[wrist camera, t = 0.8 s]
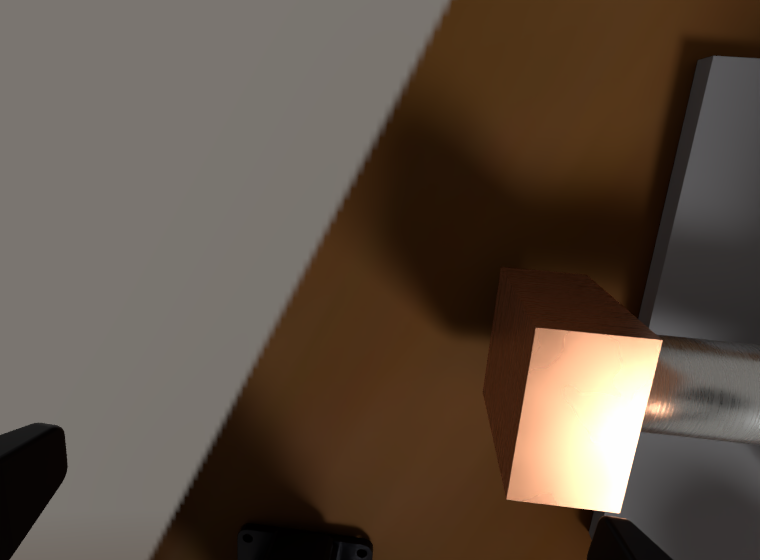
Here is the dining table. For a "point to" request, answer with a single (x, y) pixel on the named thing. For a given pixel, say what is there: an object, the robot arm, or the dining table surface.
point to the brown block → (600, 389)
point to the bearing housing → (705, 317)
